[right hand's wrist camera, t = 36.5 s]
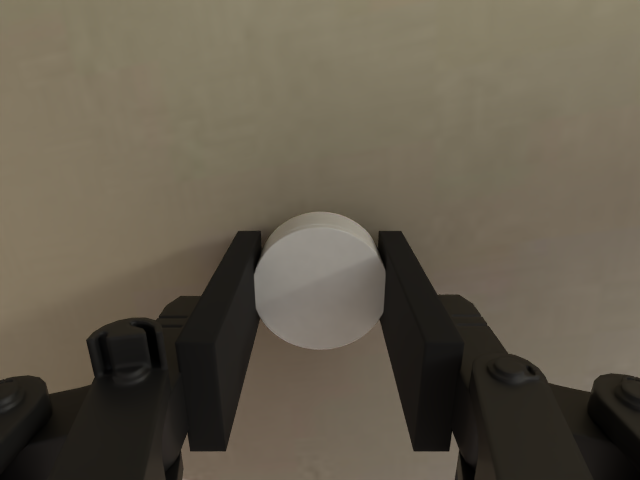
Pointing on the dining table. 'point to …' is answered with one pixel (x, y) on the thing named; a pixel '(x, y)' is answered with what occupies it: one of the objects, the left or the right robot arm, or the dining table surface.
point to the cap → (320, 281)
